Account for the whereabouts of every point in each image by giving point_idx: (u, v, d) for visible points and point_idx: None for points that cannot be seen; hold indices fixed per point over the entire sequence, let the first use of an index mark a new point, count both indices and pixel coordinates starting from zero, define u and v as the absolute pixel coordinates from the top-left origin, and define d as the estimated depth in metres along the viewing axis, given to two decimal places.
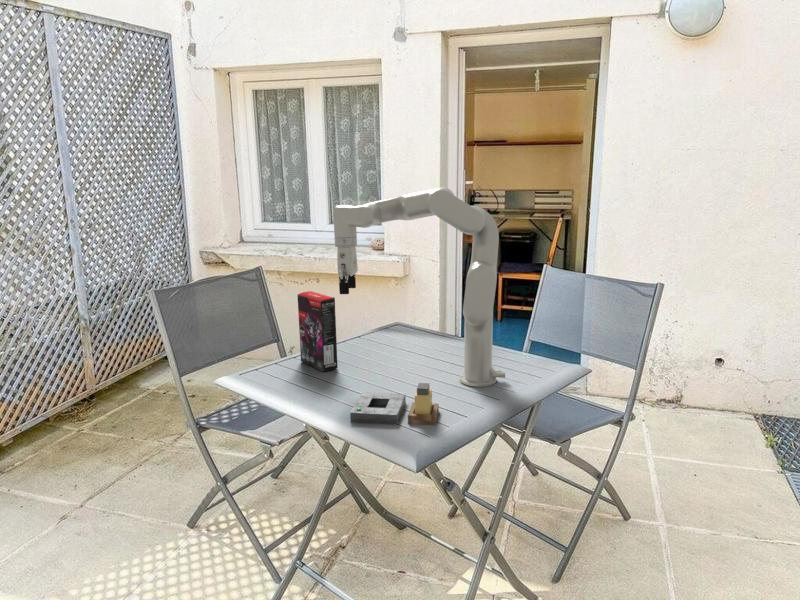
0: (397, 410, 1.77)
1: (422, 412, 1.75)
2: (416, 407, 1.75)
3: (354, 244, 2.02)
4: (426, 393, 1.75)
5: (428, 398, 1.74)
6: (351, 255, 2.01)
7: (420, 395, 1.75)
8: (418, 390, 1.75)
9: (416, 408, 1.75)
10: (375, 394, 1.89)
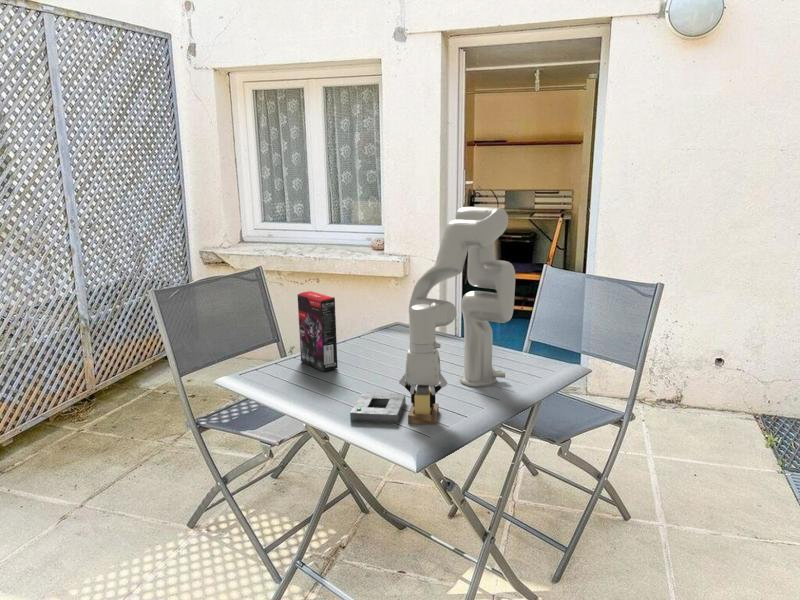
0: (397, 410, 1.77)
1: (421, 412, 1.75)
2: (416, 407, 1.75)
3: None
4: (426, 393, 1.75)
5: (428, 398, 1.74)
6: None
7: (420, 395, 1.75)
8: (418, 390, 1.75)
9: (416, 408, 1.75)
10: (375, 394, 1.89)
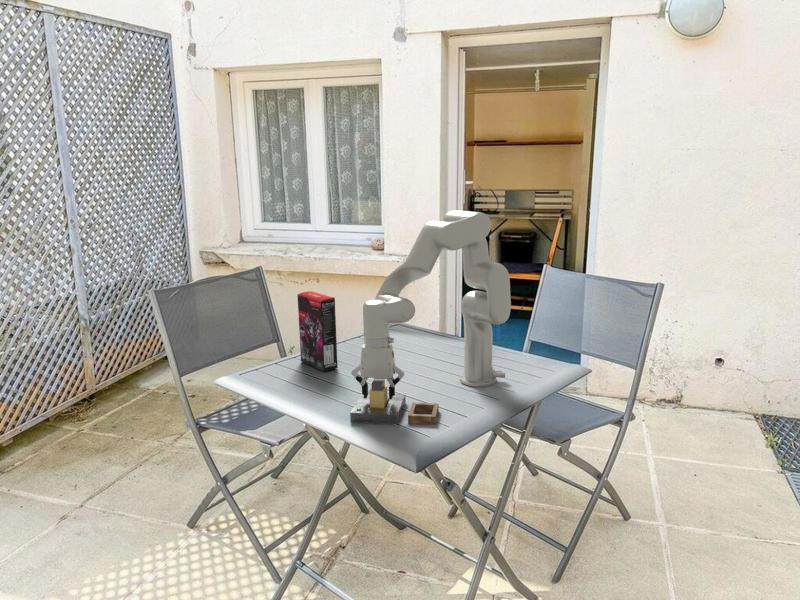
0: (397, 410, 1.77)
1: None
2: (371, 402, 1.79)
3: None
4: (380, 389, 1.79)
5: (382, 394, 1.78)
6: None
7: (374, 391, 1.79)
8: (373, 386, 1.79)
9: (371, 403, 1.80)
10: None
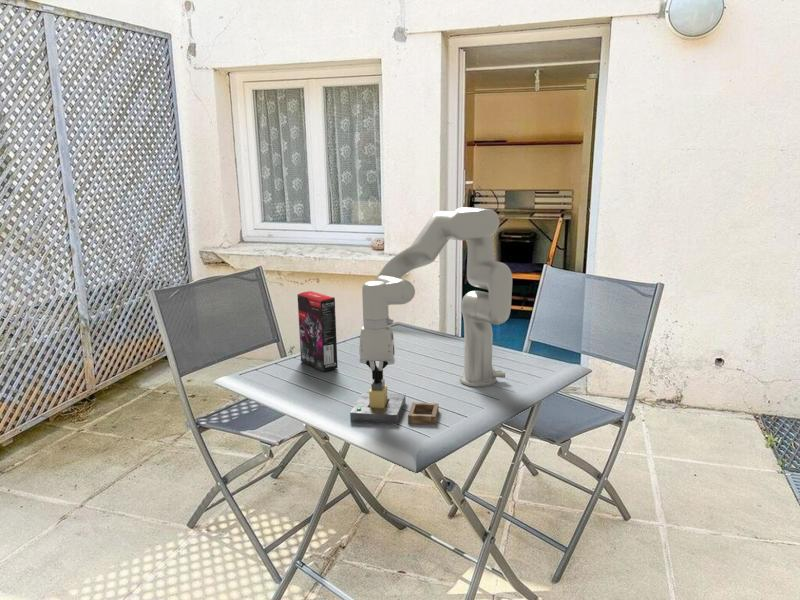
0: (397, 410, 1.77)
1: (376, 407, 1.80)
2: (371, 402, 1.79)
3: None
4: (380, 389, 1.79)
5: (382, 393, 1.78)
6: None
7: (374, 391, 1.79)
8: (372, 386, 1.79)
9: (371, 403, 1.80)
10: None
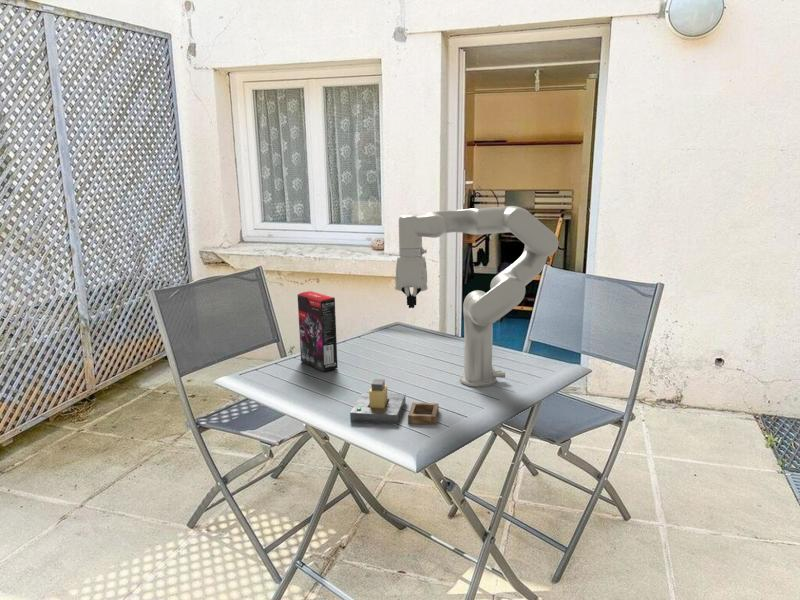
0: (397, 410, 1.77)
1: (376, 407, 1.80)
2: (371, 402, 1.79)
3: None
4: (380, 389, 1.79)
5: (382, 394, 1.78)
6: None
7: (374, 391, 1.79)
8: (373, 386, 1.79)
9: (371, 403, 1.80)
10: None
